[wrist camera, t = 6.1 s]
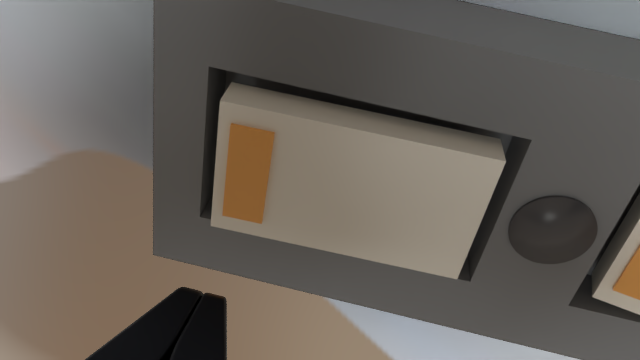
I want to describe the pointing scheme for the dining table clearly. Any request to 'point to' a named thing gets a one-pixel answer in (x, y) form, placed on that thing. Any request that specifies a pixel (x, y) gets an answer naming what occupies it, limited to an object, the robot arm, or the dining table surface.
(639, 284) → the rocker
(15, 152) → the dining table surface
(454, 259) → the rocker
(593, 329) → the rocker switch box
